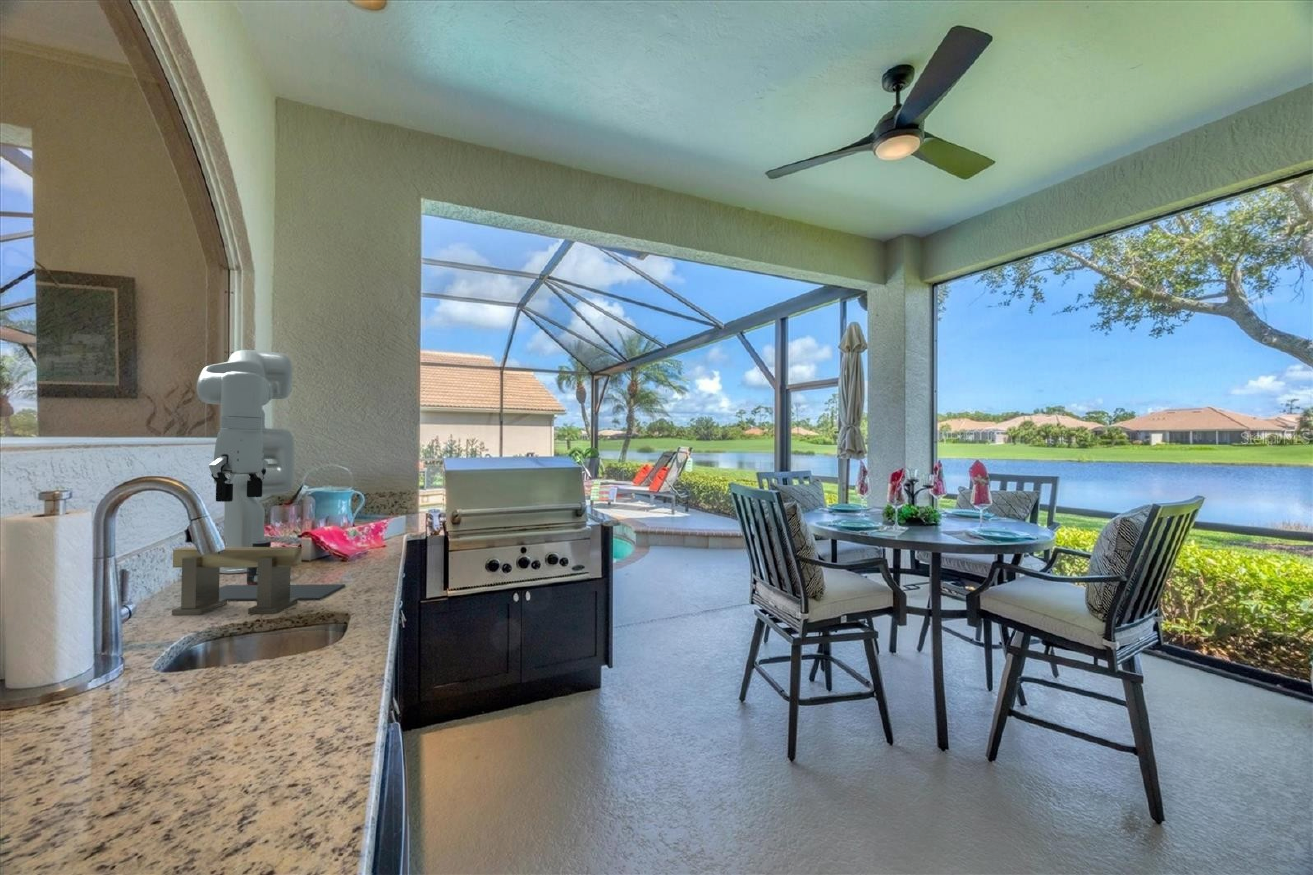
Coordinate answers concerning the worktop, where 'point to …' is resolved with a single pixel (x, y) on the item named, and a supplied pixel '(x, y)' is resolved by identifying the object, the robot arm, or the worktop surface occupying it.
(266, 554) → the rail
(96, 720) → the worktop surface
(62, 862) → the worktop surface
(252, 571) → the supplement bottle
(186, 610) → the rail stands
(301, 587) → the mat
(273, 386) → the robot arm
